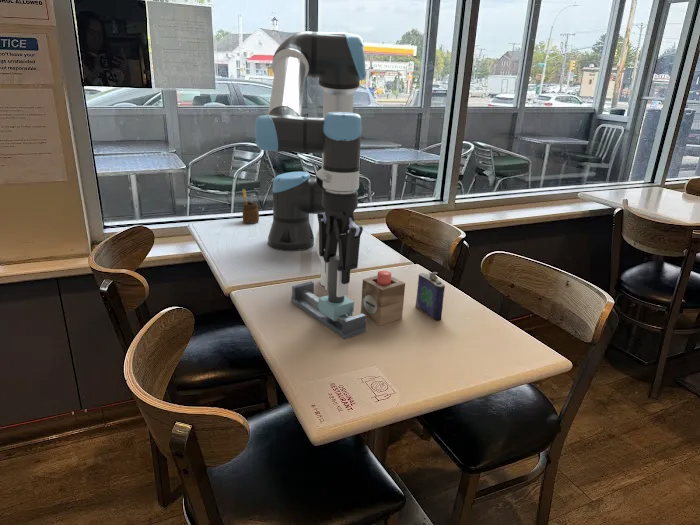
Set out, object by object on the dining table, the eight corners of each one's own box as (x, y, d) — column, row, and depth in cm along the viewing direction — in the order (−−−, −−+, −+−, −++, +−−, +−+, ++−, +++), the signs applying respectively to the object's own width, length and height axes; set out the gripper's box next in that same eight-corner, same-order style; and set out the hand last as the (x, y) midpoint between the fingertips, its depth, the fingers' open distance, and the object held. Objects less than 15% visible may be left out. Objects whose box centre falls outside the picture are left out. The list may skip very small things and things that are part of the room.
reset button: (373, 290, 116) (374, 272, 114) (383, 287, 118) (385, 269, 116) (382, 295, 114) (383, 277, 112) (392, 292, 116) (394, 274, 114)
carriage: (318, 311, 114) (319, 256, 109) (337, 305, 117) (339, 252, 112) (333, 321, 110) (335, 265, 105) (353, 315, 113) (356, 260, 108)
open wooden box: (358, 314, 118) (360, 279, 115) (382, 306, 123) (385, 273, 119) (377, 326, 113) (380, 290, 110) (402, 317, 118) (405, 283, 114)
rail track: (291, 301, 123) (291, 286, 122) (311, 296, 127) (311, 281, 125) (344, 339, 107) (345, 321, 106) (366, 331, 110) (367, 314, 109)
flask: (413, 305, 124) (417, 266, 120) (422, 304, 125) (427, 264, 121) (434, 322, 116) (440, 280, 113) (445, 320, 118) (450, 278, 114)
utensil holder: (251, 225, 181) (250, 192, 177) (238, 221, 184) (237, 190, 180) (262, 221, 186) (261, 190, 182) (249, 218, 189) (248, 187, 185)
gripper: (303, 183, 107) (302, 282, 115) (350, 200, 95) (345, 310, 103) (331, 180, 111) (328, 276, 120) (380, 196, 99) (372, 301, 108)
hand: (336, 291), depth 112 cm, fingers closed on carriage, 4 cm apart
